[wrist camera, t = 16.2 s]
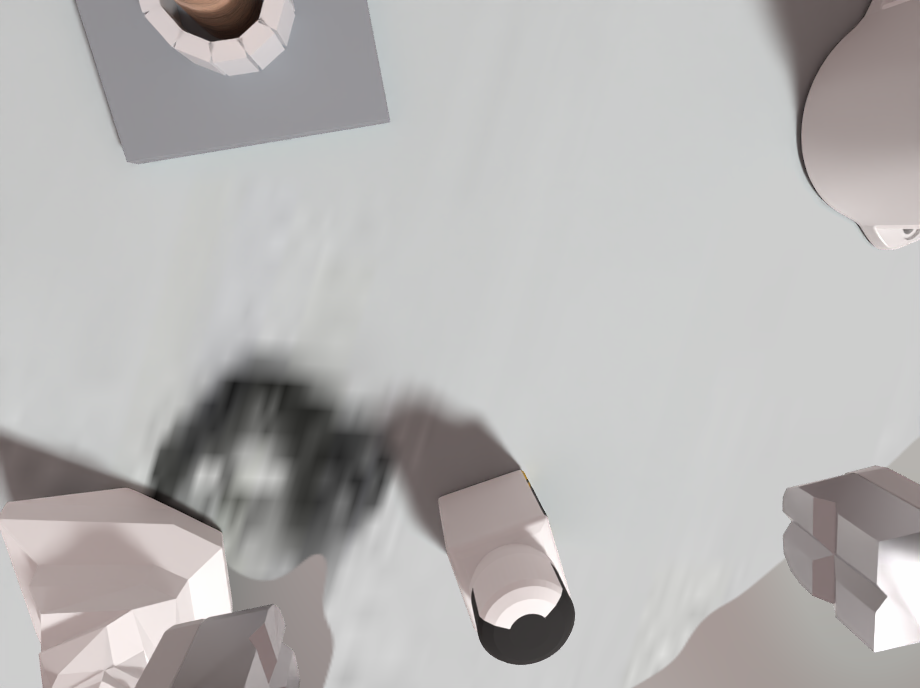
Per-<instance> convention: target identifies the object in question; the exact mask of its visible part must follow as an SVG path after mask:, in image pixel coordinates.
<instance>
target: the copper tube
mask: <svg viewBox="0 0 920 688" xmlns="http://www.w3.org/2000/svg"><path fill="white" fill-rule="evenodd" d="M174 1H175V2H176V3H177V4H178V5H179V6H180V7H181V8H182V9H183V10H184V11H185V12H186V13H187V14H189V15H190V16H191V17H192V18H193V19H194V20H195V21H196V22H197V23H198V24H199V25H200V26H201V27H202V28H203V29H204V30H205V31H207V32H208V33H209V34H211V35H212V36H214V37H216V38H218V39H221V40H228V39H235V38H239V37H240V36H241V35H242V34H243V33H245V32H246V31H247V30H248V29H249V28H250V27H251V26H252V25H253V24H254V23H255V22H257V21H258V20H259V17H260V13H261V9H262V0H174Z"/></svg>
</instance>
